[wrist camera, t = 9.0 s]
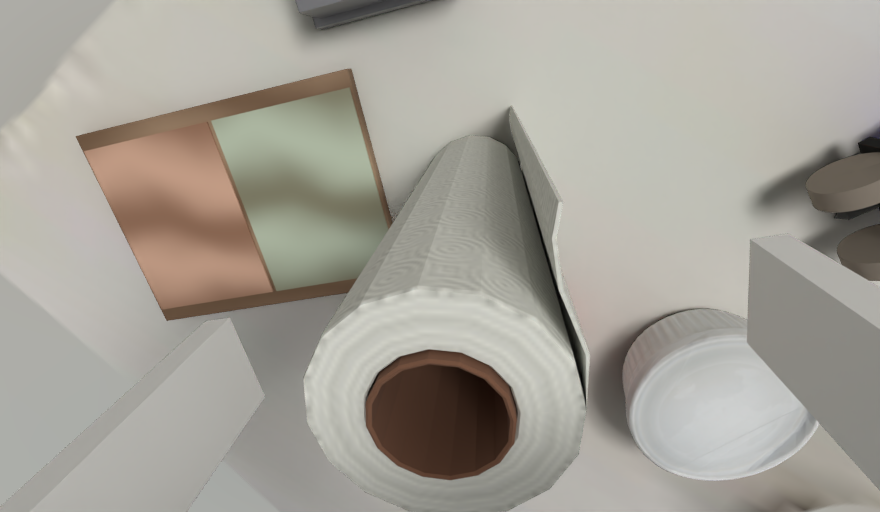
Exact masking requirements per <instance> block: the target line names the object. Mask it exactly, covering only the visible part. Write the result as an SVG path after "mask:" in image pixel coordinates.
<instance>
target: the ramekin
mask: <svg viewBox="0 0 880 512" xmlns="http://www.w3.org/2000/svg"><path fill="white" fill-rule="evenodd" d="M622 376H623V387H624V393H625V399H626V419H627V423H628V427H629V430H630V432H631V435H632V437H633V439H634V441H635V443H636V444H637V446H638V448H639V449H640V450H641V451H642V453H643V454H644V455H645V456H646V457H647V458H648V459H649V460H651V461H652V462H653V463H654V464H656V465H657V466H658V467H660V468H662V469H664V470H666V471H668V472H670V473H673V474H676V475H679V476H682V477H686V478H691V479H696V480H707V481H720V480H731V479H738V478H743V477H747V476H751V475H754V474H758V473H760V472H763V471H766V470H768V469H770V468H772V467H774V466H776V465H778V464H780V463H782V462H783V461H785V460H787V459H788V458H790V457H791V456H792V455H794V454H795V453H796V452H797V451H799V450H800V449H801V448H802V447H803V446H804V445H805V444H806V443H807V442H808V440H809V439H810V438H811V437H812V435H813V434H814V432H815V431H816V429H817V427H818V426H819V422H818V421H817V420H816V419H815V418H814V417H813V416H812V415H811V414H810V412H809V411H808V410H807V409H806V408H805V407H804V406H803V405H802V404H801V402H800V401H799V400H798V399H797V398H796V397H795V396H794V395H793V393H792V392H791V391H790V390H789V389H788V388H787V387H786V386H785V385H784V383H783V382H782V381H781V380H780V379H779V378H778V377H777V376H776V375H775V373H774V372H773V371H772V370H771V369H770V368H769V367H768V366H767V365H766V363H765V362H764V361H763V360H762V359H761V358H760V357H759V356H758V355H757V353H756V352H755V351H754V350H753V349H752V348H751V347H750V346H749V345H748V343H747V319H745V318H741V317H740V316H738V315H735V314H731V313H729V312H726V311H720V310H712V309H696V310H688V311H684V312H680V313H676V314H674V315H671V316H668V317H666V318H664V319H662V320H660V321H658V322H656V323H655V324H653V325H651V326H650V327H649V328H647V329H646V330H645V331H644V332H643V333H642V334H641V335H639V336H638V337H637V339H636V340H635V341H634V343H633V344H632V346H631V348H630V349H629V350H628V353H627V356H626V357H625V362H624V365H623V372H622Z"/></svg>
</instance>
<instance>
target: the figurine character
mask: <svg viewBox="0 0 880 512" xmlns="http://www.w3.org/2000/svg"><path fill="white" fill-rule="evenodd" d="M858 145H859V148H860V151H861V153H859V154H857V155H854V156H850V157H847V158H844V159H841V160H838V161H835V162H833V163H831V164H828V165H826V166H824V167H823V168H821V169H819V170H818V171H816V172H815V173H813V174H812V175H811V176H810V177H809V178H808V180H807V182H806V188H807V191H808V193H809V196H810V199H811V201H812V204H813V206H814V207H815V208H816V209H818V210H820V211H824V212H833V213H835V212H838V213H837V214H836V216H835V218H840V219H848V220H849V219H851V218H854V217H856V216H859V215H861V214H864V213H866V212H868V211H871V210H873V209H876V208H878V207H879V209H880V139H878V138H873V137H869V138H867V139H865V140H863V141H861V142H859V143H858ZM837 253H838V256H839V258H840V261H841V264H842V265H843V266H845V267H846V268H848V269H850V270H851V271H853V272H855V273H856V274H858V275H860V276H862V277H863V278H865V279H867V280H868V281H880V224H878V225H873V226H870V227H866V228H863V229H861V230H858V231H856V232H854V233H852V234H850V235H849V236H847V237H846V238H844V239H843V240H842V241H841V242H840V243H839V245H838V247H837Z"/></svg>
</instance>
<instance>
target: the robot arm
mask: <svg viewBox="0 0 880 512" xmlns="http://www.w3.org/2000/svg"><path fill="white" fill-rule="evenodd" d="M747 343H748V345H749V346H750V347H751V348H752V349H753V350H754V351H755V352H756V353H757V355H758V356H759V357H760V358H761V359H762V360H763V361H764V362H765V363H766V365H767V366H768V367H769V368H770V369H771V370H772V371H773V372H774V373H775V375H776V376H777V377H778V378H779V379H780V380H781V381H782V382H783V383H784V385H785V386H786V387H787V388H788V389H789V390H790V391H791V392H792V393H793V395H794V396H795V397H796V398H797V399H798V400H799V401H800V402H801V404H802V405H803V406H804V407H805V408H806V409H807V410H808V411H809V412H810V414H811V415H812V416H813V417H814V418H815V419H816V420H817V421H818V422H819V424H820V425H821V426H822V427H823V428H824V429H825V430H826V431H827V432H828V434H829V435H830V436H831V437H832V438H833V439H834V440H835V441H836V442H837V444H838V445H839V446H840V447H841V448H842V449H843V450H844V451H845V452H846V454H847V455H848V456H849V457H850V458H851V459H852V460H853V461H854V462H855V464H856V465H857V466H858V467H859V468H860V469H861V470H862V471H863V473H864V474H865V475H866V476H867V477H868V478H869V479H870V480H871V481H872V483H873V484H874V485H875V486H876V487H877V488H878V489H879V490H880V287H879V286H877V285H875V284H874V283H872V282H870V281H868V280H867V279H865V278H863V277H862V276H860V275H858V274H856V273H855V272H853V271H851V270H850V269H848V268H846V267H845V266H843V265H841V264H839V263H838V262H836V261H834V260H833V259H831V258H829V257H827V256H826V255H824V254H822V253H821V252H819V251H817V250H816V249H814V248H812V247H810V246H809V245H807V244H805V243H804V242H802V241H800V240H798V239H797V238H795V237H793V236H792V235H790V234H782V235H775V236H769V237H762V238H755V239H750V262H749V291H748V320H747ZM264 398H265V395H264V393H263V391H262V388H261V386H260V384H259V382H258V379H257V377H256V375H255V373H254V370H253V368H252V366H251V364H250V362H249V359H248V357H247V355H246V353H245V350H244V348H243V346H242V344H241V341H240V339H239V337H238V335H237V332H236V330H235V328H234V326H233V323H232V321H231V319H230V317H229V318H223V319H216V320H209V321H205V322H204V323H203V324H202V325H201V326H199V327H198V328H197V329H196V330H195V331H194V332H193V333H192V334H191V335H190V336H188V337H187V338H186V339H185V340H184V341H183V342H182V343H181V344H180V345H178V346H177V347H176V348H175V349H174V350H173V351H172V352H171V353H170V354H168V355H167V356H166V357H165V358H164V359H163V360H162V361H161V362H160V363H158V364H157V365H156V366H155V367H154V368H153V369H152V370H151V371H150V372H149V373H147V374H146V375H145V376H144V377H143V378H142V379H141V380H140V381H139V382H137V383H136V384H135V385H134V386H133V387H132V388H131V389H130V390H129V391H127V392H126V393H125V394H124V395H123V396H122V397H121V398H120V399H119V400H118V401H116V402H115V403H114V404H113V405H112V406H111V407H110V408H109V409H108V410H107V411H105V412H104V413H103V414H102V415H101V416H100V417H99V418H98V419H96V420H95V421H94V422H93V423H92V424H91V425H90V426H89V427H88V428H86V429H85V430H84V431H83V432H82V433H81V434H80V435H79V436H78V437H77V438H75V439H74V440H73V441H72V442H71V443H70V444H69V445H68V446H67V447H65V448H64V449H63V450H62V451H61V452H60V453H59V454H58V455H57V456H55V457H54V458H53V459H52V460H51V461H50V462H49V463H48V464H47V465H46V466H45V467H43V468H42V469H41V470H40V471H39V472H38V473H37V474H36V475H34V476H33V477H32V478H31V479H30V480H29V481H28V482H27V483H26V484H24V486H22V487H21V488H20V489H19V490H18V491H17V492H16V493H15V494H14V495H12V496H11V497H10V498H9V499H8V500H7V501H6V502H5V503H3V504H2V505H1V506H0V512H187V511H188V510H189V508H190V507H191V505H192V504H193V502H194V501H195V499H196V498H197V496H198V495H199V493H200V492H201V490H202V489H203V488H204V486H205V484H206V483H207V482H208V480H209V479H210V477H211V476H212V474H213V473H214V471H215V470H216V468H217V467H218V465H219V464H220V462H221V461H222V460H223V458H224V457H225V455H226V454H227V452H228V451H229V449H230V448H231V446H232V445H233V443H234V442H235V441H236V439H237V438H238V436H239V435H240V433H241V432H242V430H243V429H244V427H245V426H246V424H247V423H248V421H249V420H250V418H251V417H252V416H253V414H254V413H255V411H256V410H257V408H258V407H259V405H260V404H261V402H262V401H263V399H264Z"/></svg>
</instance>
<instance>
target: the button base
mask: <svg viewBox="0 0 880 512" xmlns="http://www.w3.org/2000/svg"><path fill="white" fill-rule="evenodd" d="M427 1H431V0H296V4H297V7H298V10H299V13H302V14H305V15H309V16H312V17H313V20H314V24H315V27H316V28H317V29H321V30H322V29H326V28H330V27H334V26H337V25H341V24H345V23H349V22H352V21H356V20H360V19H363V18H367V17H371V16H375V15H378V14H382V13H386V12H390V11H393V10H397V9H401V8H405V7H408V6H412V5H416V4H420V3H423V2H427Z"/></svg>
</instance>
